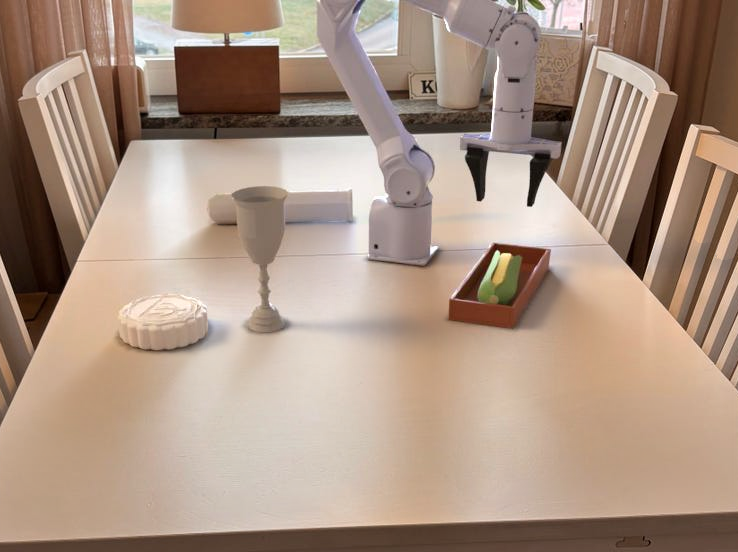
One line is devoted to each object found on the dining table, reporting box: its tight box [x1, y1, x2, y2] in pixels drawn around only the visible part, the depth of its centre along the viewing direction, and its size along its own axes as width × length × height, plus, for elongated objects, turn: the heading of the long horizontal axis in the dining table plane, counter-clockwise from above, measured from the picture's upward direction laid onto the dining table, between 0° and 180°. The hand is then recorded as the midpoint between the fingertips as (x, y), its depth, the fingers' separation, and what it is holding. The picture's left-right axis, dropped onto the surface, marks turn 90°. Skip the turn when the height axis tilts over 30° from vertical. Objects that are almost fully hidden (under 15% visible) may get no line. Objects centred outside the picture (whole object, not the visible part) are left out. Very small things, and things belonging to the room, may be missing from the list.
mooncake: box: [117, 293, 209, 351], centre depth 139 cm, size 12×12×4 cm
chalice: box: [231, 185, 288, 333], centre depth 137 cm, size 7×7×18 cm
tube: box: [206, 187, 354, 225], centre depth 177 cm, size 5×5×25 cm
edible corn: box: [478, 250, 522, 306], centre depth 148 cm, size 5×20×5 cm, turn 165°
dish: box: [447, 242, 552, 329], centre depth 149 cm, size 9×24×3 cm, turn 158°
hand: (505, 202), depth 155 cm, fingers open, 7 cm apart
